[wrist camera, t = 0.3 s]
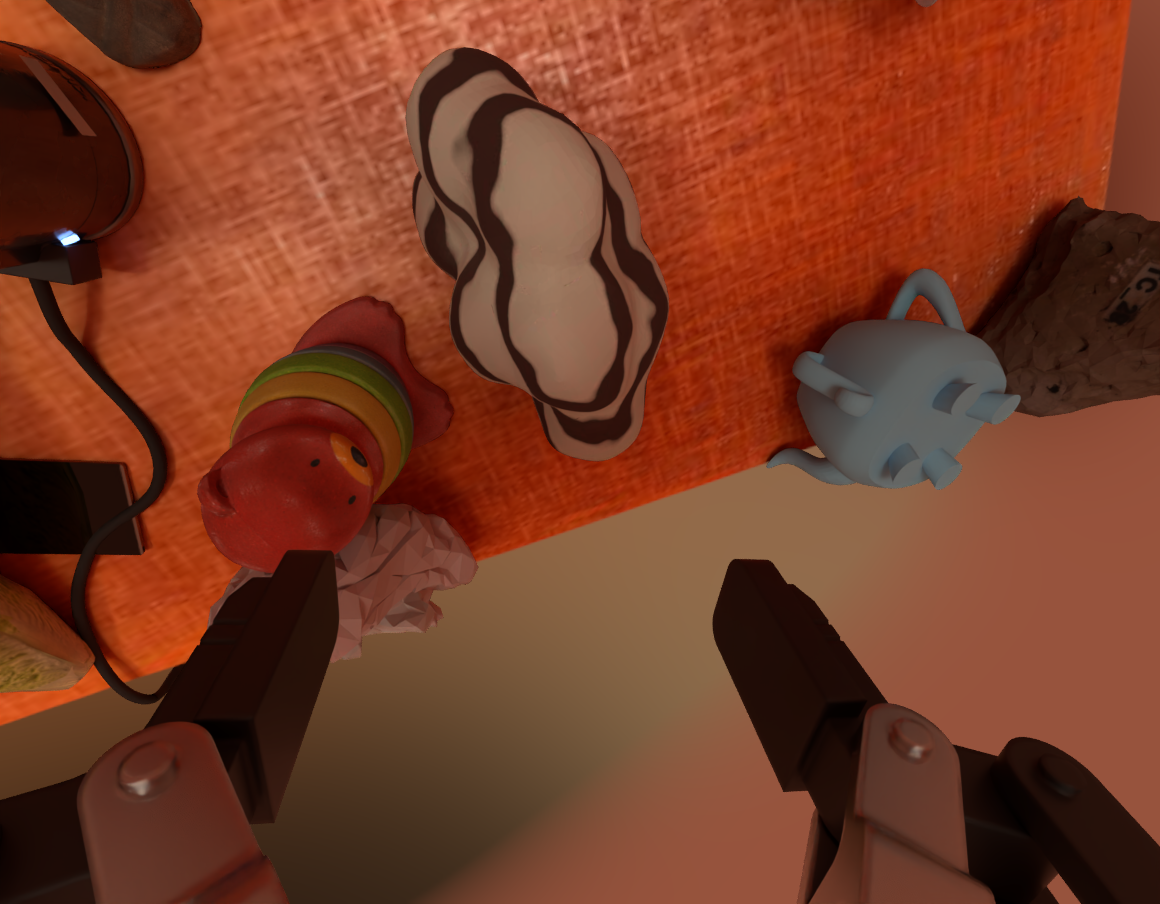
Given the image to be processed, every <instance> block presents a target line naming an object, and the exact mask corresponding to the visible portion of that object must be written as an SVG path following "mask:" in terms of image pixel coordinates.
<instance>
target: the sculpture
mask: <svg viewBox="0 0 1160 904" xmlns="http://www.w3.org/2000/svg"><path fill="white" fill-rule="evenodd" d="M406 126H407V134H408V138H409V142H410V145H411V148H412V151H413V155H414V158H415V161H416V164H417V166H418V169H419V172H418V173H417V175H416V176H415V179H414V183H413V189H412V206H413V213H414V218H415V222H416V225H417V229H418V232H419V236H420V239H421V241H422V244H423V246H424V248H425V250H426V252H427V254H428V255H429V257H430V258H431V259H432V260H433V262H434V263H435V264H436V265H437V266H438V267H439V268H441V269H442V270H443V271H444V272H445V273H446V274H448V275H449V276H450V277H452V278H453V279H454V280H456V283H455V286H454V289H453V293H452V298H451V303H450V311H449V326H450V331H451V335H452V339H453V342H454V344H455V346H456V348H457V350H458V351H459V353H460V354H461V356H462V357H463V359H464V360H465V362H466V363H467V365H468V366H469V367H470V368H471V369H472V370H473V371H474V372H475V373H476V374H477V375H479V376H480V377H482V378H484V379H486V380H488V381H491V382H495V383H501V384H507V385H514V386H516V387H518V388H520V389H523V390H525V391H526V392H527V393H528V394H530V395H531V396H532V398H533V401H534V404H535V407H536V410H537V413H538V416H539V419H540V422H541V424H542V427H543V430H544V433H545V435H546V438H547V439H548V441H549V443H550V444H551V445H552V447H554V448H555V449H556V450H557V451H559V452H561V453H563V454H565V455H568V456H571V457H574V458H578V459H583V460H588V461H604V460H607V459H610V458H613V457H615V456H617V455H618V454H620V453H622V452H623V451H624V450H626V449H627V448H628V447H629V446H630V445H631V444H632V443H633V442H634V441H635V439H636V438H637V436H638V434H639V432H640V429H641V426H642V422H643V416H644V404H645V392H646V383H647V377H648V374H649V371H650V369H651V367H652V364H653V362H654V360H655V357H656V355H657V352H658V350H659V347H660V344H661V341H662V339H663V335H664V331H665V327H666V323H667V319H668V312H669V297H668V292H667V287H666V284H665V281H664V278H663V275H662V273H661V270H660V268H659V266H658V264H657V262H656V260H655V258H654V256H653V254H652V253H651V251H650V249H649V248H648V246H647V244H646V243H645V241H644V239H643V237H642V234H641V219H640V214H639V209H638V205H637V201H636V198H635V195H634V192H633V189H632V186H631V183H630V181H629V178H628V176H627V174H626V172H625V170H624V169H623V167H622V165H621V163H620V162H619V160H618V158H617V157H616V155H615V154H614V153H613V151H612V150H611V149H610V148H609V147H608V145H607V144H605V143H604V142H603V141H602V140H600V139H599V138H598V137H596V136H594V135H592V134H589V133H587V132H584V131H581V130H580V129H579V128H578V127H577V126H576V125H575V124H574V123H573V122H572V121H571V120H569V119H568V118H567V117H566V116H565V115H563V114H561V113H559V112H557V111H555V110H553V109H551V108H549V107H547V106H545V105H543V104H541V103H540V102H539V101H538V99H537V98H536V96H535V94H534V92H533V91H532V89H531V88H530V87H529V85H528V84H527V82H526V81H525V80H524V78H523V77H522V76H521V75H520V74H519V73H518V72H517V71H516V70H515V69H513V68H512V67H511V66H510V65H509V64H508V63H506V62H504V61H503V60H501V59H499V58H498V57H496V56H494V55H492V54H489V53H487V52H484V51H481V50H479V49H473V48H466V47H464V48H455V49H449V50H447V51H445V52H442V53H441V54H440V55H438V56H437V57H436V58H434V59H433V60H432V61H431V62H430V63H429V64H428V65H427V67H426V68H425V69H424V70H423V72H422V73H421V74H420V76H419V77H418V79H417V80H416V82H415V84H414V86H413V89H412V92H411V95H410V97H409V100H408V103H407V109H406Z"/></svg>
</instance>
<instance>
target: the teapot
mask: <svg viewBox="0 0 1160 904" xmlns="http://www.w3.org/2000/svg"><path fill="white" fill-rule="evenodd" d="M918 295H922V296H924V297H925V298H926V299H927V300H928V301H929V302H930V303H931V304H932V306H933V307H934V308H935V309H936V311H937V312H938V314H939V316H940V318H941V320H942V321H943V323H944V325H941V324H937V323H932V322H925V321H916V320H904V318H905V315H906V313H907V311H908V309H909V307H910V305H911V304H912V302H913V300H914V299H915V298H916V297H917V296H918ZM792 372H793V374H794V376H795V377H796V378H798V379H799V380H800V381H802V382H801V384H800V386H799V389H798V392H797V402H798V406H799V409H800V412H801V414H802V417H803V419H804V421H805V424H806V426H807V428H808V431H809V433H810V435H811V437H812V439H813V440H814V442H815V443H816V445H817V447H818V448H819V449H820V450H821V452H822V453H823V454H824V455H825V458H818V457H815V456H813V455H811V454H809V453H807V452H805V451H803V450H800V449H797V448H787V449H784V450H782V451H780V452H779V453H777V454H776V455H775V456H774V457H773V458H772V459H771V460H770V461H769V463H768V464H767V468H772V467H774V466H777V465H780V464H791V465H795V466H797V467H799V468H800V469H802V470H804V471H805V472H807V473H808V474H810V475H811V476H813V477H815V478H816V479H818V480H821V481H823V482H826V483H829V484H835V485H848V484H854V483H856V482H857V483H860V484H863V485H868V486H874V487H881V488H903V487H907V486H911V485H915V484H917V483H920V482H923V481H925V480H927V479H930V480H931V482H932V484H933V485H934V487H935V488H936V489H937V490H940V489H943V488H945V487H946V486H948V485H949V484H951V483H952V482H953V481H954V480H955V479H956V478H957V476H958V475H959V474H960V472H961V470H962V465H961V464H960V463H959V462H958V461H956V460H955V459H954V457H955V456H956V455H957V454H958V453H959V452H960V451H961V450H962V448H964V446H965V445H966V444H967V443H968V442H969V441H970V440H971V438H972V437H973V436H974V435H975V434H976V432H977V431H978V430H979V428H981V426H982V425H983V424H984V423H985V422H987V423H991V424H999V423H1001V422H1002V421H1004V420H1005V419H1006V418H1008V417H1009V416H1010V415H1011V414H1012V413H1013V411H1014V410H1015V409H1016V408H1017V406H1018V404H1019V402H1020V399H1021V397H1020V395H1012V394H1004V392H1005V388H1006V377H1005V374H1004V371H1003V369H1002V367H1001V365H1000V363H999V361H998V359H997V357H996V355H995V353H994V352H993V350H992V349H991V348H990V347H989V346H988V345H987V344H986V343H985V342H984V341H983V340H982V339H980V338H978V337H976V336H974V335H972V334H969V333H967V332H966V331H965V328H964V326H963V323H962V320H961V317H960V314H959V310H958V308H957V305H956V303H955V300H954V298H953V295H952V293H951V291H950V289H949V287H948V286H947V284H946V282H945V281H944V280H943V279H942V278H941V277H940V276H939V275H938V274H937V273H936V272H934V271H932V270H930V269H923V268H922V269H919V270H916V271H914V272H913V273H912V274H910V275H909V277H908V278H907V279H906V280H905V281H904V283H903V284H902V286H901V287H900V289H899V291H898V293H897V295H896V297H895V299H894V301H893V303H892V305H891V308H890V310H889V312H888V315H887V317H886V320H863V321H855V322H851V323H848V324H846V325H844V326H843V327H841V328H839V329H838V330H837V331H836V332H835V333H834V334H833V335H832V336H831V337H830V338H829V339H828V341H827V342H826V343H825V345H824V346H823V347H822V349H821V350H820V352H819V353H815V352H810V351H806V352H803V353H801V354H800V355H799V356H798V357H797V359H796V360H795V362H794V365H793V368H792Z"/></svg>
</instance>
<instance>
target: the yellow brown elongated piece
mask: <svg viewBox="0 0 1160 904" xmlns="http://www.w3.org/2000/svg"><path fill="white" fill-rule="evenodd" d="M94 661H95V656H94V654H93V653H92V651H91V649H90V648H89V647H88V645H87V644H86V643H85V642H84V641H83V640H82V639H81V637H80V635H79V634H77V633H76V632H75V631H74V630H73V629H72V628H71V627H69V626H68V625H67V624H66V623H65V622H64V621H63V620H62V619H61V618H60V617H59V616H58V615H57V614H56V613H55V612H54V611H53V610H52V609H51V608H50V607H48V606H47V605H46V604H45V603H44V602H43V601H42V600H41V599H40V598H39V597H37V596H36V595H35V594H34V593H33V592H32V591H31V590H29V589H27V588H25V587H23V586H22V585H20V584H18V583H16V582H14V581H12V580H10V579H8V578H6V577H4V576H2V575H0V693H4V692H18V691H57V690H64V689H69V688H71V687H72V686H74V685H75V684H76V683H77V682H79V681H80V680H81V679H82V678H83V677H84V676H85V675H86V673H87V672H88V671H89V669H90V668H91V666H92V665H93V663H94Z"/></svg>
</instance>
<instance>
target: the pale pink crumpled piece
mask: <svg viewBox="0 0 1160 904" xmlns="http://www.w3.org/2000/svg"><path fill="white" fill-rule="evenodd" d="M334 558H335V568H336V579H337V591H338V603H339V628H338V634H337V640H336V644H335V647H334V650H333V653H332V656H331V659H330V662H331V663H333V662H335V661H337V660H339V659H345V660H347V659H353V658H358V657H361V647H362V636H365V635H371V634H377V633H405V631H411V632H421V633H426V631H427V629H428V628H429V627H430V626H434V627H437V621H438V620H440V619H442V618H443V615H442V611H441V609H440V608H439V607H438V606H437V605H435V604H434V603H433V602H431V601H430V598H431V595H432V592H433V590H446V589H452V588H455V587H457V586H459V585H461V584H465V585H466V584H468V583H469V582H471V581H472V579H473V577H474V575H475V573H476V571H477V569H478V565H477V563H476V561H475V559H474V557H473V555H472V553H471V551H470V549H469V547H468V546H467V544H466V543H465V541H464V540H463V539H462V537H461V536H460V534H459V533H458V532H457V531H456V530H455V529H454V528H453V527H452V526H451V525H450V524H449V523H448V522H447V521H446V520H445V519H444V518H441V517H439V516H437V515H435V514H424V513H422V512H420V511H419V510H417V509H416V508H414V507H413V506H411V505H407V504H403V503H402V504H388V505H385V504H372V507H371V510H370V513H369V515H368V517H367V519H366V521H365V523H364V524H363V526H362V528H361V529H360V530H359V532H358V533H357V535H356V536H355V537H354V538H353V539H352V541H351V542H350V543H349V544H348V545H347V546H346V547H345V548H343V549H342V550H341V551H339V552H338V553H337V554H335V555H334ZM273 574H274V573H266V572H260V571H256V570H252V569H249V568H246V567H242V568H241V569H240V570H239V571H238V572H237V574H236V575H235V576H234V577H233V578H232V579H231V581H230V583H229V584H228V586H227V588H226V591H225V593H224V595H223V597H222V598H220V599H219V600H218V601H217V602H216V603H215V604H214V605H213V606H212V607H211V609H210V614H209V620H208V626H207V629H208V627H209V626H210V625H212V624H213V619H214V618H215V616H216V615H217V613H218V611H219V610H220V608H221V607H222V605H223V603H224V602H225V600H226V599H227V597H228V596H229V595H231V594H232V593H233V592H234V591H236V590H237V589H238V588H240V587H241V586H242V585H243V584H245V583H246V582H247V581H248V580H250V579H251V578H252V577H272V575H273Z"/></svg>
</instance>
